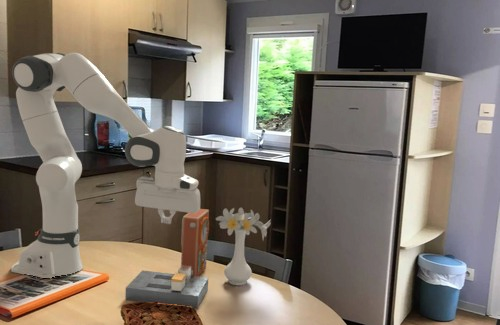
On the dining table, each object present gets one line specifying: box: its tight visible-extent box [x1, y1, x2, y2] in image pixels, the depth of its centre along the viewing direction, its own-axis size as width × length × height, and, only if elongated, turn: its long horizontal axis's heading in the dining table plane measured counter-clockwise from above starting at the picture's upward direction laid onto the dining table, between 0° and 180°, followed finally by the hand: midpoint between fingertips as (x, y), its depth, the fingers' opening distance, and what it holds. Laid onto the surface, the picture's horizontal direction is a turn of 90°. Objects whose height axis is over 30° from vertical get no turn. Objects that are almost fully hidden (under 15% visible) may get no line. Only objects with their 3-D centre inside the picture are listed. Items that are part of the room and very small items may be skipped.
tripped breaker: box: [171, 272, 186, 291], centre depth 140 cm, size 3×4×4 cm
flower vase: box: [215, 207, 272, 286], centre depth 156 cm, size 13×18×25 cm
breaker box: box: [125, 265, 209, 310], centre depth 144 cm, size 22×14×8 cm, turn 83°
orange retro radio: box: [180, 208, 210, 277], centre depth 163 cm, size 21×7×15 cm
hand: (166, 223), depth 146 cm, fingers closed
